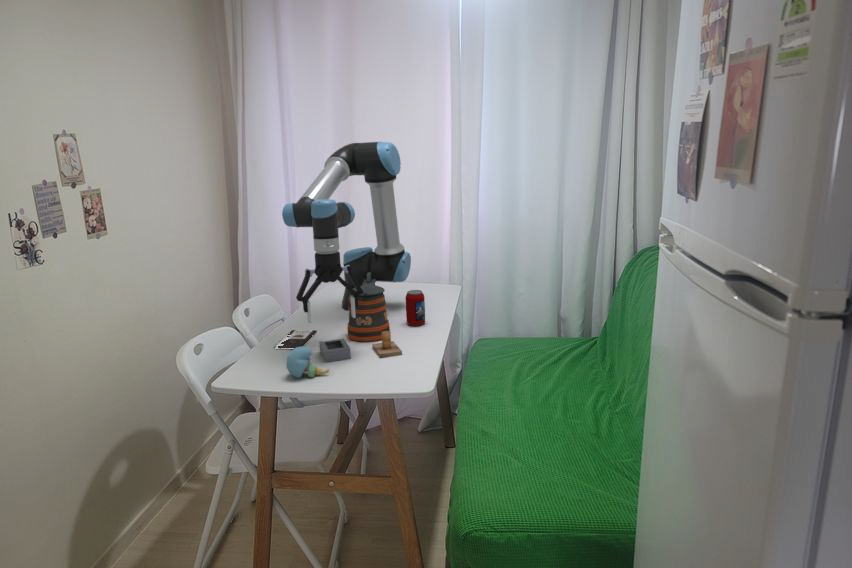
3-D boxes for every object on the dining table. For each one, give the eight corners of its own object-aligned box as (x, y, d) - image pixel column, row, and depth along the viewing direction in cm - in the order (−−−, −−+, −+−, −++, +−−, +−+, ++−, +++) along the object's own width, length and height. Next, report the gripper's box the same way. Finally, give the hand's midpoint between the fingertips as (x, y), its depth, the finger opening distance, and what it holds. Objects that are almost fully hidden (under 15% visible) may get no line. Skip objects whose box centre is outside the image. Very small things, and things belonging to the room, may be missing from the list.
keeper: (372, 347, 197) (371, 329, 195) (393, 344, 199) (392, 326, 198) (380, 357, 188) (379, 338, 186) (402, 354, 190) (401, 335, 188)
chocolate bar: (273, 347, 199) (292, 330, 216) (273, 350, 199) (292, 332, 217) (299, 348, 198) (316, 330, 215) (300, 350, 198) (316, 332, 215)
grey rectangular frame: (319, 352, 195) (319, 341, 194) (344, 348, 197) (343, 338, 196) (325, 362, 186) (324, 351, 185) (350, 358, 188) (350, 348, 187)
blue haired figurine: (327, 352, 171) (284, 351, 170) (327, 382, 173) (284, 380, 173) (330, 343, 178) (289, 342, 177) (330, 372, 180) (289, 371, 180)
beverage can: (423, 327, 216) (422, 294, 213) (404, 326, 217) (403, 294, 214) (427, 321, 222) (425, 289, 219) (409, 320, 224) (407, 289, 221)
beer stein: (349, 326, 220) (345, 272, 216) (390, 323, 221) (387, 270, 216) (346, 343, 202) (342, 285, 197) (390, 341, 203) (387, 282, 198)
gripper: (286, 257, 176) (292, 327, 181) (370, 250, 184) (374, 317, 188) (283, 253, 183) (289, 321, 188) (364, 246, 191) (368, 311, 195)
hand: (331, 319), depth 188 cm, fingers open, 13 cm apart
